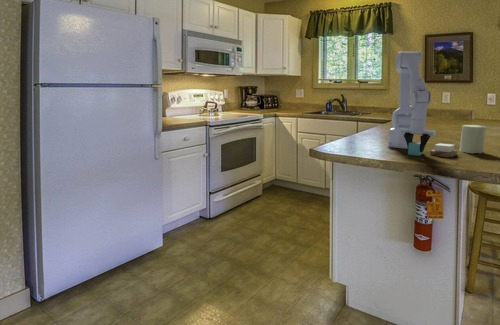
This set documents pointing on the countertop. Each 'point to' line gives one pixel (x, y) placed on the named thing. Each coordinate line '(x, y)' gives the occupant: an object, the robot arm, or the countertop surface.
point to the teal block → (414, 148)
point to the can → (472, 138)
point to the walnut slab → (443, 153)
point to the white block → (444, 147)
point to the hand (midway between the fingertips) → (415, 151)
